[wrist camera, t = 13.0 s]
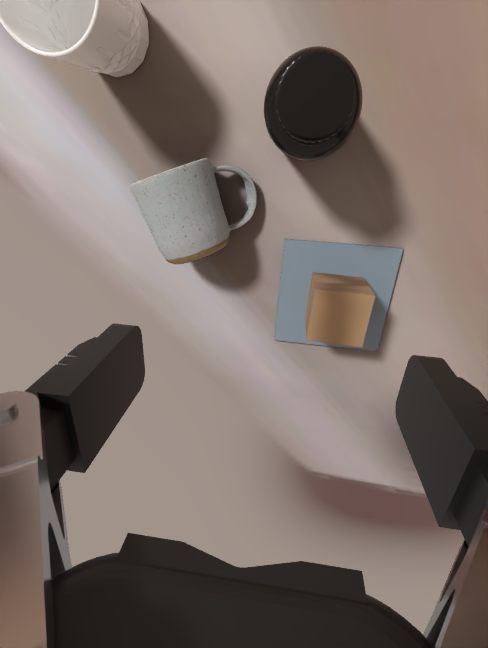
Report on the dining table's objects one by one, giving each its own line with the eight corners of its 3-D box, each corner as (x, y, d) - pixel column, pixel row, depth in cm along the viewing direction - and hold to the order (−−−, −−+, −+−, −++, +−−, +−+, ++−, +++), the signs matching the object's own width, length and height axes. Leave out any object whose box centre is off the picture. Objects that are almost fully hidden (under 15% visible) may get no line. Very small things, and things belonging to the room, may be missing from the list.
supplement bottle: (326, 55, 29) (344, -5, 19) (358, 133, 32) (391, 119, 21) (257, 105, 32) (238, 76, 21) (291, 174, 34) (290, 181, 23)
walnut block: (364, 277, 37) (375, 295, 32) (353, 323, 39) (362, 347, 34) (312, 272, 37) (315, 289, 32) (304, 318, 40) (306, 340, 35)
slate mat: (402, 248, 35) (403, 249, 35) (376, 349, 41) (377, 351, 40) (284, 238, 36) (284, 239, 36) (274, 338, 42) (274, 340, 41)
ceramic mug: (178, 255, 39) (154, 276, 32) (147, 181, 36) (114, 185, 29) (268, 226, 36) (263, 241, 29) (243, 143, 33) (231, 138, 26)
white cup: (159, 86, 32) (106, 57, 23) (79, 83, 33) (-2, 55, 24) (153, -28, 29) (89, -113, 20) (64, -28, 29) (-37, -110, 20)
